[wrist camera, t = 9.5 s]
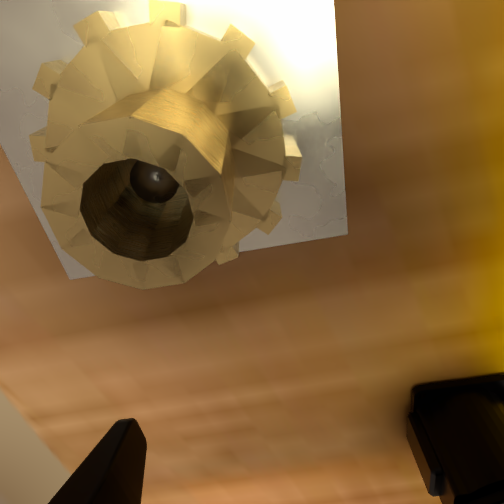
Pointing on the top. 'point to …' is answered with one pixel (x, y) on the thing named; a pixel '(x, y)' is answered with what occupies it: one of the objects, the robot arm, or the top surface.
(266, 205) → the gear
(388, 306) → the top surface
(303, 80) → the carrier plate
